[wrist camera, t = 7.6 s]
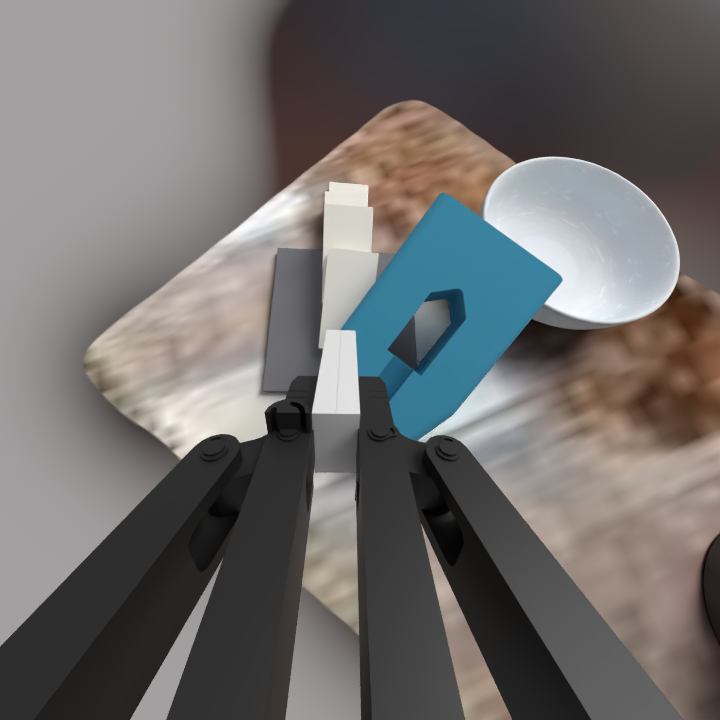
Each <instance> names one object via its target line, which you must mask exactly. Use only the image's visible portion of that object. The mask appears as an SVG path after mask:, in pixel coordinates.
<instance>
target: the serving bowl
mask: <svg viewBox="0 0 720 720" xmlns="http://www.w3.org/2000/svg"><path fill="white" fill-rule="evenodd" d="M478 216H479V217H481V218H482V219H484V220H485V221H486V222H488V223H489V224H491V225H492V226H493V227H495V228H496V229H498V230H499V231H500V232H502V233H503V234H504V235H506V236H507V237H509V238H510V239H511V240H513V241H514V242H516V243H517V244H518V245H520V246H521V247H523V248H524V249H525V250H527V251H528V252H529V253H531V254H532V255H534V256H535V257H536V258H538V259H539V260H541V261H542V262H543V263H545V264H546V265H548V266H549V267H550V268H552V269H553V270H554V271H556V272H557V273H558V274H560V275H561V277H562V279H563V281H562V282H561V284H560V285H559V286H558V287H557V289H556V290H555V291H554V292H553V293H552V295H551V296H550V297H549V298H548V300H547V301H546V302H545V303H544V304H543V306H542V307H541V308H540V309H539V311H538V312H537V313H536V314H535V315H534V317H533V318H532V319H533V320H536V321H538V322H541V323H544V324H547V325H551V326H555V327H560V328H566V329H578V330H588V329H600V328H607V327H612V326H617V325H621V324H625V323H629V322H632V321H635V320H638V319H641V318H643V317H645V316H647V315H649V314H650V313H652V312H654V311H655V310H656V309H658V308H659V307H660V306H661V305H662V304H663V303H664V302H665V301H666V300H667V299H668V297H669V296H670V295H671V293H672V291H673V289H674V287H675V285H676V282H677V279H678V274H679V266H680V258H679V251H678V246H677V243H676V239H675V237H674V234H673V232H672V230H671V228H670V226H669V224H668V222H667V221H666V219H665V217H664V216H663V215H662V213H661V212H660V210H659V209H658V208H657V206H656V205H655V204H654V203H653V202H652V201H651V200H650V198H649V197H647V195H645V194H644V193H643V192H642V191H641V190H640V189H638V188H637V187H636V186H635V185H633V184H632V183H631V182H629V181H628V180H626V179H624V178H623V177H621V176H620V175H618V174H616V173H614V172H612V171H610V170H608V169H606V168H604V167H601V166H599V165H596V164H593V163H590V162H586V161H583V160H578V159H572V158H565V157H542V158H536V159H531V160H527V161H524V162H521V163H518V164H516V165H514V166H512V167H510V168H509V169H507V170H506V171H504V172H503V173H502V174H501V175H500V176H499V177H498V178H497V179H496V180H495V181H494V182H493V184H492V185H491V186H490V188H489V190H488V192H487V194H486V196H485V198H484V201H483V203H482V206H481V209H480V212H479V215H478Z"/></svg>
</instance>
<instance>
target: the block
mask: <svg viewBox="0 0 720 720" xmlns="http://www.w3.org/2000/svg"><path fill="white" fill-rule="evenodd" d="M562 281H563V279H562V277H561V275H560V274H558V273H557V272H556V271H554V270H553V269H552V268H550V267H549V266H548V265H546V264H545V263H543V262H542V261H541V260H539V259H538V258H536V257H535V256H534V255H532V254H531V253H529V252H528V251H527V250H525V249H524V248H523V247H521V246H520V245H518V244H517V243H516V242H514V241H513V240H511V239H510V238H509V237H507V236H506V235H504V234H503V233H502V232H500V231H499V230H498V229H496V228H495V227H493V226H492V225H491V224H489V223H488V222H486V221H485V220H484V219H482V218H481V217H479V216H478V215H477V214H475V213H474V212H472V211H471V210H470V209H468V208H467V207H466V206H464V205H463V204H461V203H460V202H459V201H457V200H456V199H454V198H453V197H452V196H450V195H448V194H445V193H441V194H439V196H438V197H437V198H436V200H435V201H434V203H433V204H432V205H431V207H430V208H429V209H428V211H427V212H426V213H425V215H424V216H423V218H422V219H421V220H420V222H419V223H418V224H417V226H416V227H415V228H414V230H413V231H412V232H411V234H410V235H409V237H408V238H407V239H406V241H405V242H404V243H403V245H402V246H401V247H400V249H399V250H398V252H397V253H396V254H395V256H394V257H393V258H392V260H391V261H390V262H389V264H388V265H387V267H386V268H385V269H384V271H383V272H382V273H381V275H380V276H379V277H378V279H377V280H376V282H375V283H374V284H373V286H372V287H371V288H370V290H369V291H368V292H367V294H366V295H365V297H364V298H363V299H362V301H361V302H360V303H359V305H358V306H357V307H356V309H355V310H354V311H353V313H352V314H351V316H350V317H349V318H348V320H347V321H346V322H345V324H344V325H343V326H342V328H341V329H340V330H352V331H355V332H356V349H357V367H358V376H371V377H380V378H381V379H382V380H383V381H384V383H385V384H386V389H387V394H388V399H389V403H390V408H391V413H392V418H393V422H394V425H395V426H396V427H397V428H398V430H399V432H400V433H401V434H402V435H404V436H405V437H407V438H409V439H412V440H415V441H417V440H419V439H420V438H421V437H423V436H424V435H426V434H427V433H428V432H430V431H431V430H433V429H434V428H435V427H437V426H438V425H440V424H441V423H442V422H444V421H445V420H446V419H448V418H449V417H451V416H452V415H453V414H454V413H455V412H456V411H457V409H458V408H459V407H460V406H461V404H462V403H463V402H464V401H465V400H466V398H467V397H468V396H469V395H470V393H471V392H472V391H473V390H474V389H475V387H476V386H477V385H478V384H479V383H480V381H481V380H482V379H483V378H484V376H485V375H486V374H487V373H488V372H489V370H490V369H491V368H492V367H493V365H494V364H495V363H496V362H497V361H498V359H499V358H500V357H501V356H502V354H503V353H504V352H505V351H506V350H507V348H508V347H509V346H510V345H511V343H512V342H513V341H514V340H515V339H516V337H517V336H518V335H519V334H520V333H521V331H522V330H523V329H524V328H525V326H526V325H527V324H528V323H529V322H530V320H531V319H532V318H533V317H534V315H535V314H536V313H537V312H538V311H539V309H540V308H541V307H542V306H543V304H544V303H545V302H546V301H547V300H548V298H549V297H550V296H551V295H552V293H553V292H554V291H555V290H556V289H557V287H558V286H559V285H560V284H561V282H562ZM440 299H445V300H447V301H448V304H449V312H450V320H451V324H450V325H449V327H448V328H447V329H446V331H445V332H444V333H443V334H442V336H441V337H440V338H439V339H438V341H437V342H436V343H435V345H434V346H433V347H432V348H431V350H430V351H429V352H428V354H427V355H426V356H425V357H424V359H423V360H422V361H421V362H420V364H419V365H418V366H417V368H416V369H415V370H414V369H412V368H411V367H410V366H408V365H407V364H406V363H404V362H403V361H402V360H400V359H399V358H398V357H396V356H395V355H394V354H392V353H391V352H390V351H388V350H387V349H388V348H389V347H390V345H391V344H392V343H393V341H394V340H395V339H396V337H397V336H398V335H399V333H400V332H401V331H402V330H403V328H404V327H405V326H406V324H407V323H408V322H409V320H410V319H411V318H412V316H413V315H414V314H415V312H416V311H417V310H418V309H419V307H420V306H421V305H422V303H423V302H427V301H434V300H440Z"/></svg>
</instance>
